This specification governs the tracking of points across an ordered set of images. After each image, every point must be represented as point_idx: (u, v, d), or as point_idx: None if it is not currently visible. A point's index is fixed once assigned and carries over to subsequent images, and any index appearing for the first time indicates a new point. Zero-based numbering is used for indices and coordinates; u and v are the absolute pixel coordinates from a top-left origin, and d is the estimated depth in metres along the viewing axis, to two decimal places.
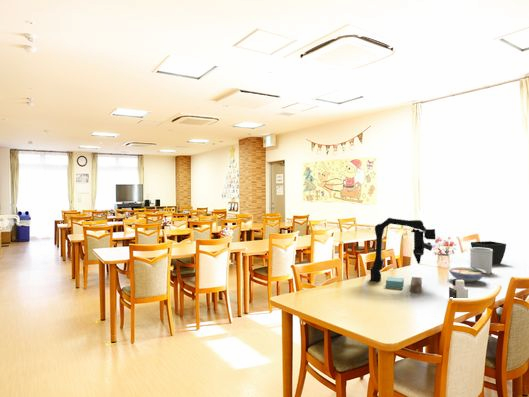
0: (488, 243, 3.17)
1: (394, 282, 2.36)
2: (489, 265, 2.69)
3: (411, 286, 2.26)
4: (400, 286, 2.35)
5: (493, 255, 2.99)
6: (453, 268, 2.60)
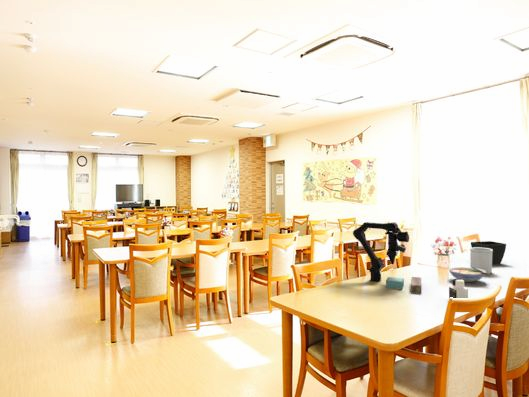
0: (488, 243, 3.17)
1: (394, 282, 2.36)
2: (489, 265, 2.69)
3: (411, 286, 2.26)
4: (400, 286, 2.35)
5: (493, 255, 2.99)
6: (453, 268, 2.60)
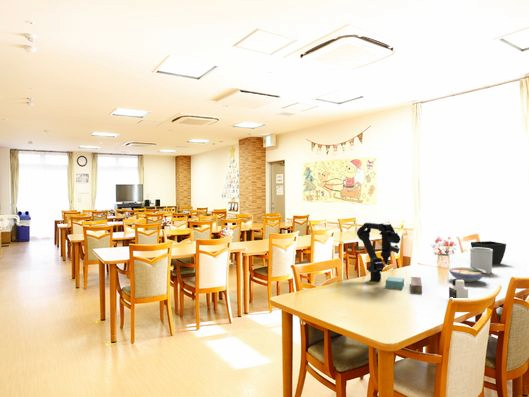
0: (488, 243, 3.17)
1: (394, 282, 2.36)
2: (489, 265, 2.69)
3: (412, 286, 2.26)
4: (400, 286, 2.35)
5: (493, 255, 2.99)
6: (453, 268, 2.60)
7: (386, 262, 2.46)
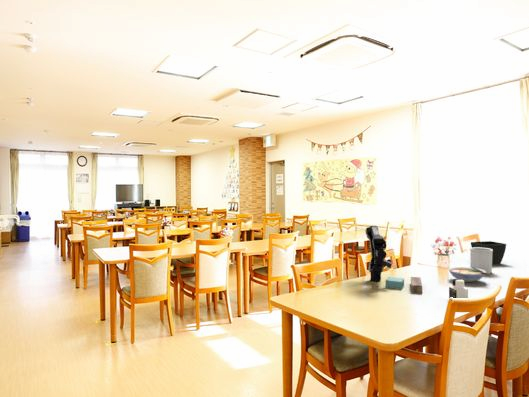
0: (488, 243, 3.17)
1: (393, 282, 2.36)
2: (489, 265, 2.69)
3: (412, 286, 2.26)
4: (399, 286, 2.35)
5: (493, 255, 2.99)
6: (453, 268, 2.60)
7: (378, 276, 2.44)
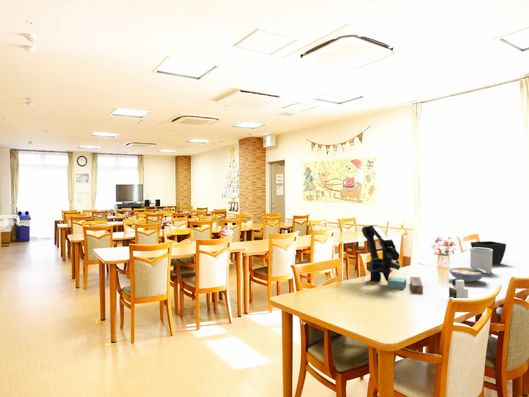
0: (488, 243, 3.17)
1: (395, 282, 2.36)
2: (489, 265, 2.69)
3: (413, 286, 2.26)
4: (401, 286, 2.34)
5: (493, 255, 2.99)
6: (453, 268, 2.60)
7: (386, 278, 2.42)
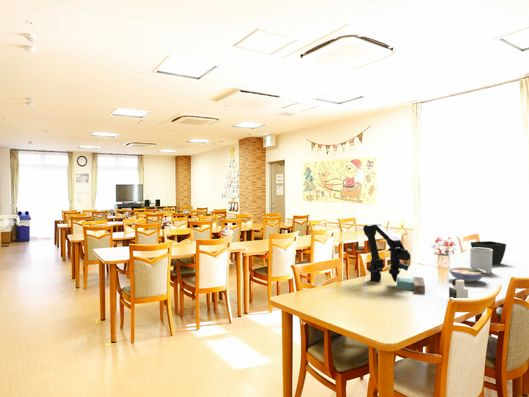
0: (488, 243, 3.17)
1: (405, 283, 2.33)
2: (489, 265, 2.69)
3: (415, 286, 2.25)
4: (411, 287, 2.32)
5: (493, 255, 2.99)
6: (453, 268, 2.60)
7: (395, 279, 2.40)
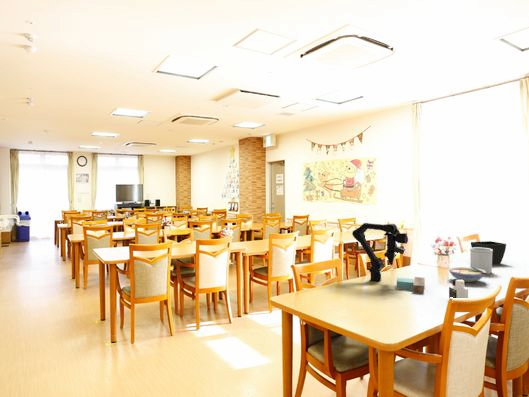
0: (488, 243, 3.17)
1: (405, 283, 2.33)
2: (489, 265, 2.69)
3: (414, 286, 2.26)
4: (411, 287, 2.32)
5: (493, 255, 2.99)
6: (453, 268, 2.60)
7: (391, 262, 2.49)
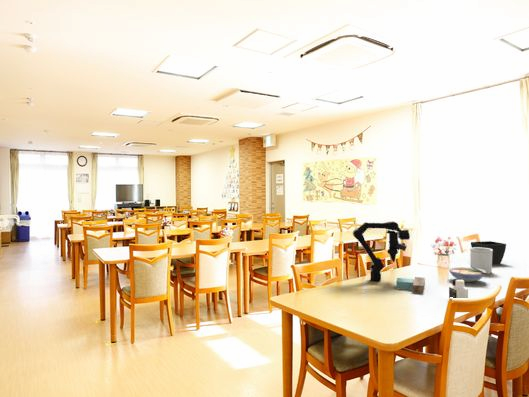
0: (488, 243, 3.17)
1: (405, 283, 2.34)
2: (489, 265, 2.69)
3: (413, 286, 2.26)
4: (411, 287, 2.32)
5: (493, 255, 2.99)
6: (453, 268, 2.60)
7: (393, 259, 2.55)
